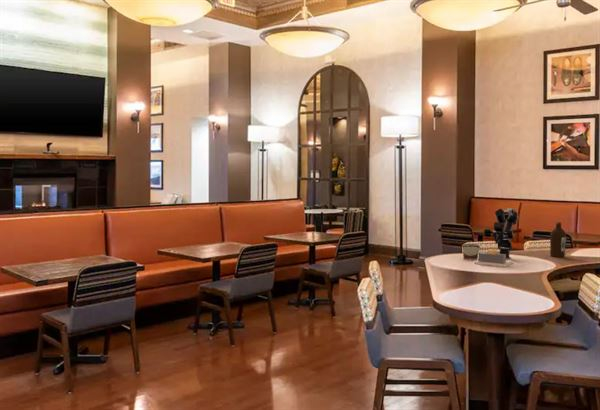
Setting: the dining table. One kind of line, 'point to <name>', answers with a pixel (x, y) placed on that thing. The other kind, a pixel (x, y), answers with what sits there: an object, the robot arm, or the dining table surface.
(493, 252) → the amber key
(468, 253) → the food container
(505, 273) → the dining table surface
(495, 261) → the grey block on base
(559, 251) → the olive oil
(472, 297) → the dining table surface
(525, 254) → the dining table surface
